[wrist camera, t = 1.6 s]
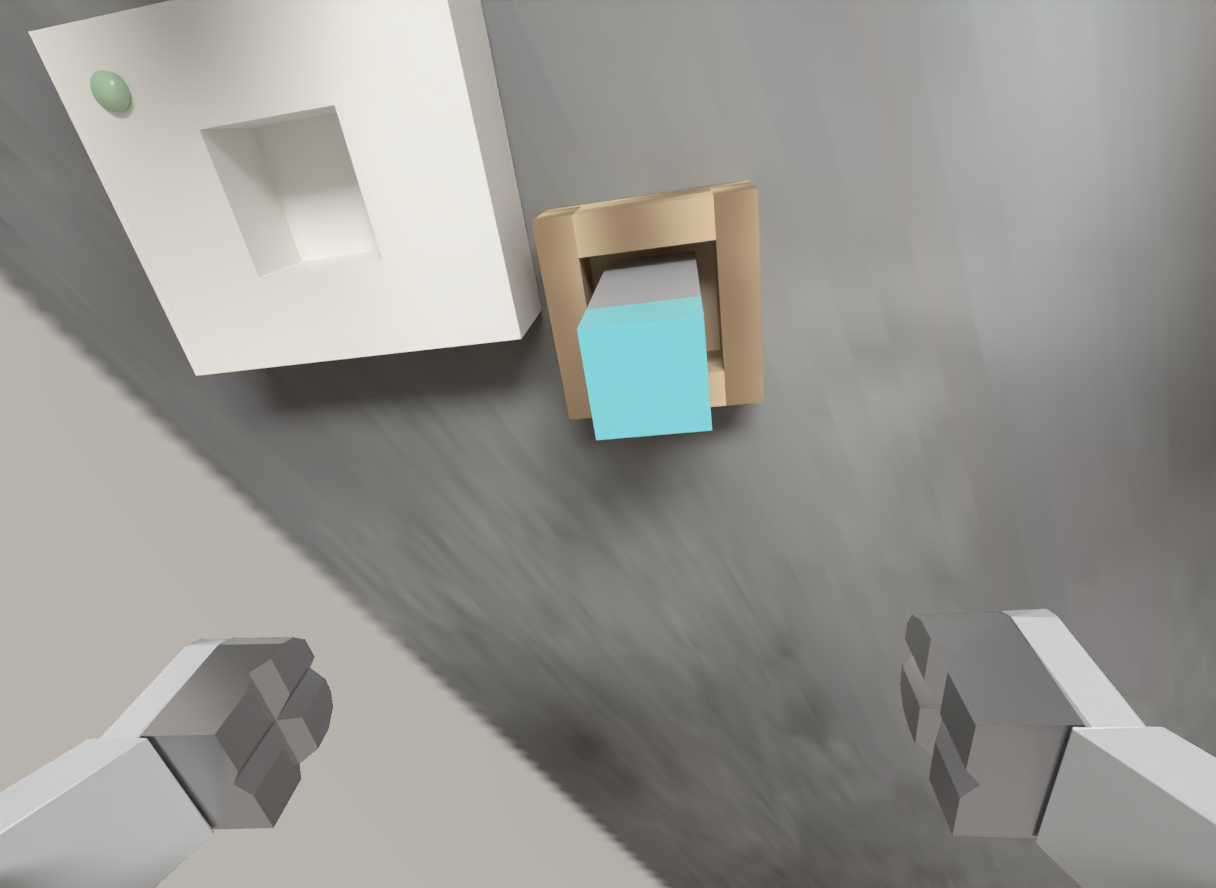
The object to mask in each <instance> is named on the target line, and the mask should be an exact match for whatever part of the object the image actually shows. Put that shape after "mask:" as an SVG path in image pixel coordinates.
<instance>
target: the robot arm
mask: <svg viewBox="0 0 1216 888" xmlns="http://www.w3.org/2000/svg"><path fill="white" fill-rule="evenodd" d="M905 639H906V641H907V644H908V646H909V648H910V650H911V652H912V656H911V657H910V658H909V659H908V660H907V661H906V662H904V663H903V664H902V671H901V683H900V685H901V694H902V703H903V709H904V712H905V716H906V720H907V723H908V726H909V729H910V731H911V734H912V736H913V739H914V742H915V744H916V745H918V746H919V747H920V748H921V749H922V750H924V751H925V752H926V753H927V754H929V755H930V756H931V757H932V764H931V770H930V776H929V779H930V782H931V784H932V786H933V789H934V791H935V794H936V796H937V799H938V801H939V804H940V806H941V808H942V811H943V813H944V816H945V818H946V821H947V823H948V825H949V828H950V830H951V833H952V835H955V836H981V837H1007V838H1033V839H1036V842H1035V843H1036V844H1037V845H1038V846H1039V847H1040V848H1041V849H1042V850H1043V851H1044V852H1045V853H1046V854H1048V855H1049V856H1050V857H1051V858H1052V859H1053V860H1054V861H1055V862H1056V863H1057V864H1058V865H1059V866H1060V867H1061V868H1062V869H1063V870H1064V871H1065V872H1066V873H1067V874H1068V875H1069V876H1070V877H1071V878H1072V879H1074V880H1075V881H1076V882H1077V883H1078V884H1079V885H1080V886H1081V887H1082V888H1216V758H1215V757H1214V756H1212V755H1210V754H1209V753H1207V752H1205V751H1203V750H1202V749H1200V748H1198V747H1197V746H1195V745H1193V744H1191V743H1190V742H1188V741H1186V740H1185V739H1183V738H1181V737H1179V736H1178V735H1176V734H1174V733H1173V732H1171V731H1169V730H1167V729H1166V728H1164V727H1153V726H1146V725H1145V724H1144V723H1143V722H1142V720H1141V719H1140V718H1139V717H1138V716H1137V714H1136V713H1135V712H1134V711H1133V709H1132V708H1131V707H1130V706H1129V704H1128V703H1127V702H1126V701H1125V699H1124V698H1123V697H1122V696H1121V694H1120V693H1119V692H1118V691H1117V690H1116V688H1115V687H1114V686H1113V685H1112V683H1111V682H1110V681H1109V680H1108V678H1107V677H1106V676H1105V675H1104V673H1103V672H1102V671H1101V670H1100V669H1099V667H1098V666H1097V665H1096V664H1095V662H1094V661H1093V660H1092V659H1091V657H1090V656H1089V655H1088V654H1087V652H1086V651H1085V650H1084V649H1083V647H1082V646H1081V645H1080V644H1079V643H1078V641H1077V640H1076V639H1075V638H1074V636H1073V635H1072V634H1071V633H1070V631H1069V630H1068V629H1067V628H1066V626H1065V625H1064V624H1063V623H1062V622H1061V620H1060V619H1059V618H1058V617H1057V615H1056V614H1054V613H1052V612H1051V611H1049V610H1047V609H1031V610H1010V611H1000V612H994V611H993V612H971V613H948V614H926V615H912V616H911V618H910V619H909V621H908V623H907V630H906V637H905ZM313 659H314V655H313V653H312V651H311V649H310V648H309V646H308V644H307V642H306V641H305V639H299V638H294V637H284V638H283V637H278V638H276V637H274V638H231V639H199V640H197V641H195V642H193V643H191V644H189V645H186V647H185V648H184V649H183V650H182V651H181V652H180V653H179V654H178V655H177V656H176V657H175V658H174V659H173V661H172V662H171V663H170V664H169V665H168V666H167V667H166V668H165V669H164V670H163V671H162V672H161V673H160V674H159V676H158V677H157V678H156V679H155V680H154V681H153V682H152V683H151V684H150V685H149V686H148V687H147V688H146V690H145V691H144V692H143V693H142V694H141V695H140V696H139V697H138V698H137V699H136V700H135V701H134V702H133V704H131V706H130V707H129V708H128V709H127V710H126V711H125V712H124V713H123V714H122V715H121V716H120V717H119V718H118V719H117V720H116V722H115V723H114V724H113V725H112V726H111V727H110V728H109V729H108V730H107V731H106V732H105V733H104V734H103V735H102V737H101V738H92V739H88V740H86V741H85V742H83V743H81V744H80V745H78V746H76V747H75V748H73V749H71V750H70V751H68V752H67V753H65V754H63V755H62V756H60V757H58V758H57V759H55V760H53V761H52V762H50V763H48V764H47V765H45V766H43V767H42V768H40V769H38V770H37V771H35V772H33V773H32V774H30V775H28V776H27V777H25V778H23V779H22V780H20V781H18V782H17V783H15V784H14V785H12V786H10V787H9V788H7V789H5V790H4V791H2V792H0V888H155V887H157V885H159V884H160V883H161V882H162V881H163V880H164V879H165V878H166V877H167V876H168V875H169V874H170V873H171V872H173V871H174V870H175V869H176V868H177V867H178V866H179V865H180V864H181V863H182V862H183V861H184V860H185V859H187V857H189V856H190V855H191V854H192V853H193V852H194V851H195V850H196V849H197V848H198V847H199V846H200V845H201V844H203V843H204V842H205V841H206V840H207V839H208V838H209V837H210V836H211V835H212V834H213V833H214V831H213V830H212V829H242V828H243V829H244V828H274V826H275V824H276V822H277V821H278V819H279V817H280V815H281V813H282V812H283V810H284V808H285V807H286V805H287V803H288V801H289V799H290V798H291V796H292V794H293V792H294V791H295V789H296V787H297V785H298V783H299V782H300V780H301V774H300V765H299V763H301V762H302V761H303V760H304V759H306V758H307V757H308V756H309V755H311V754H312V753H313V752H314V751H316V750H317V749H318V747H319V746H320V744H321V742H322V740H323V738H324V736H325V734H326V733H327V731H328V728H329V724H330V718H331V714H332V709H333V704H332V696H331V691H330V689H329V686H328V684H327V682H326V680H325V679H324V678H323V677H322V676H320V675H319V674H318V673H316V672H315V671H313V670H312V669H311V668H310V667H311V664H312V662H313Z"/></svg>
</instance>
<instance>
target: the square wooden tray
mask: <svg viewBox="0 0 1216 888" xmlns="http://www.w3.org/2000/svg"><path fill="white" fill-rule="evenodd" d="M531 223H532V228H533V233H534V238H535V244H536V249H537V254H538V259H539V264H540V270H541V275H542V280H543V285H544V290H545V295H546V301H547V306H548V311H549V316H550V321H551V326H552V332H553V337H554V342H555V347H556V352H557V358H558V363H559V368H560V373H561V378H562V383H563V389H564V394H565V399H566V404H567V409H568V414H569V420H574V419H585V418H592V414H591V408H590V402H589V396H588V391H587V385H586V379H585V373H584V368H583V362H582V356H581V350H580V345H579V339H578V333H577V328H578V326H579V324H580V322H581V320H582V318H583V315H584V313H585V311H586V309H587V307H588V305H589V302H590V300H591V298H592V296H593V294H594V292H595V290H596V287H597V285H598V283H599V281H600V279H601V277H602V274H603V272H604V270H605V268H606V266H607V264H608V262H612V261H620V260H627V259H635V258H643V257H650V256H658V255H666V254H674V253H681V252H689V251H695V257H696V264H697V271H698V278H699V285H700V292H701V299H702V306H703V313H704V325H705V338H706V352H707V365H708V379H709V392H710V406H711V407H718V406H729V405H740V404H751V403H762V402H764V377H763V343H762V310H761V276H760V242H759V209H758V188H757V187H755V186H754V185H753V184H752V183H751V182H750V181H743V182H736V183H729V184H722V185H715V186H708V187H701V188H694V189H688V190H681V191H674V192H667V193H660V194H653V195H646V196H639V197H633V198H626V199H619V200H612V201H605V202H598V203H591V204H584V205H578V206H571V207H564V208H557V209H550V210H546V211H545V212H543V213H542V214H540V215H539V216H538V217H536V218H535V219H533V220H532V221H531Z"/></svg>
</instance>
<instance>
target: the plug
mask: <svg viewBox="0 0 1216 888" xmlns="http://www.w3.org/2000/svg"><path fill="white" fill-rule="evenodd" d="M577 333H578V339H579V345H580V350H581V356H582V362H583V368H584V373H585V379H586V385H587V391H588V396H589V402H590V408H591V414H592V419H593V425H594V431H595V437H596V440H606V439H618V438H630V437H642V436H654V435H665V434H677V433H689V432H701V431H712V419H711V406H710V392H709V379H708V365H707V352H706V338H705V325H704V313H703V306H702V299H701V292H700V285H699V278H698V271H697V264H696V257H695V251H689V252H681V253H674V254H666V255H658V256H650V257H643V258H635V259H627V260H620V261H612V262H608V264H607V266H606V268H605V270H604V272H603V274H602V277H601V279H600V281H599V283H598V285H597V287H596V290H595V292H594V294H593V296H592V298H591V300H590V302H589V305H588V307H587V309H586V311H585V313H584V315H583V318H582V320H581V322H580V324H579V326H578V328H577Z"/></svg>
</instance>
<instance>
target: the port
mask: <svg viewBox="0 0 1216 888" xmlns="http://www.w3.org/2000/svg"><path fill="white" fill-rule="evenodd" d="M29 34H30V36H31V38H32V40H33V42H34V44H35V46H36V49H37V51H38V53H39V55H40V57H41V59H42V61H43V63H44V65H45V67H46V69H47V71H48V73H49V75H50V77H51V79H52V81H53V83H54V85H55V87H56V90H57V92H58V94H59V96H60V98H61V100H62V102H63V104H64V106H65V108H66V110H67V112H68V114H69V116H70V118H71V120H72V122H73V124H74V126H75V129H76V131H77V133H78V135H79V137H80V139H81V141H82V143H83V145H84V147H85V149H86V151H87V153H88V155H89V157H90V159H91V161H92V163H93V165H94V167H95V170H96V172H97V174H98V176H99V178H100V180H101V182H102V184H103V186H104V188H105V190H106V192H107V194H108V196H109V198H110V200H111V202H112V204H113V206H114V208H115V211H116V213H117V215H118V217H119V219H120V221H121V223H122V225H123V227H124V229H125V231H126V233H127V235H128V237H129V239H130V241H131V243H132V245H133V247H134V249H135V252H136V254H137V256H138V258H139V260H140V262H141V264H142V266H143V268H144V270H145V272H146V274H147V276H148V278H149V280H150V282H151V284H152V286H153V288H154V290H155V293H156V295H157V297H158V299H159V301H160V303H161V305H162V307H163V309H164V311H165V313H166V315H167V317H168V319H169V321H170V323H171V325H172V327H173V329H174V331H175V334H176V336H177V338H178V340H179V342H180V344H181V346H182V348H183V350H184V352H185V354H186V356H187V358H188V360H189V362H190V364H191V366H192V368H193V370H194V372H195V375H196V376H199V375H207V374H216V373H225V372H234V371H243V370H252V369H261V368H270V367H278V366H287V365H296V364H305V363H314V362H323V361H332V360H341V359H349V358H358V357H367V356H376V355H385V354H394V353H403V352H412V351H420V350H429V349H438V348H447V347H456V346H465V345H474V344H483V343H491V342H500V341H509V340H518V339H522V338H523V336H524V335H525V333H526V332H527V330H528V329H529V328H530V326H531V325H532V323H533V322H534V320H535V319H536V318H537V316H538V315H539V313H540V312H541V310H542V308H541V303H540V298H539V293H538V288H537V283H536V278H535V273H534V268H533V263H532V257H531V252H530V247H529V242H528V237H527V232H526V227H525V222H524V217H523V212H522V207H521V202H520V197H519V192H518V187H517V182H516V177H515V172H514V167H513V162H512V157H511V151H510V146H509V141H508V136H507V131H506V126H505V121H504V116H503V111H502V106H501V101H500V96H499V91H498V86H497V81H496V76H495V71H494V66H493V61H492V56H491V50H490V45H489V40H488V35H487V30H486V25H485V20H484V15H483V10H482V5H481V0H170V1H165V2H161V3H156V4H152V5H147V6H143V7H138V8H134V9H129V10H125V11H120V12H116V13H111V14H107V15H102V16H98V17H93V18H89V19H84V20H80V21H75V22H71V23H66V24H61V25H57V26H52V27H48V28H43V29H39V30H34V31H30V32H29Z"/></svg>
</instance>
